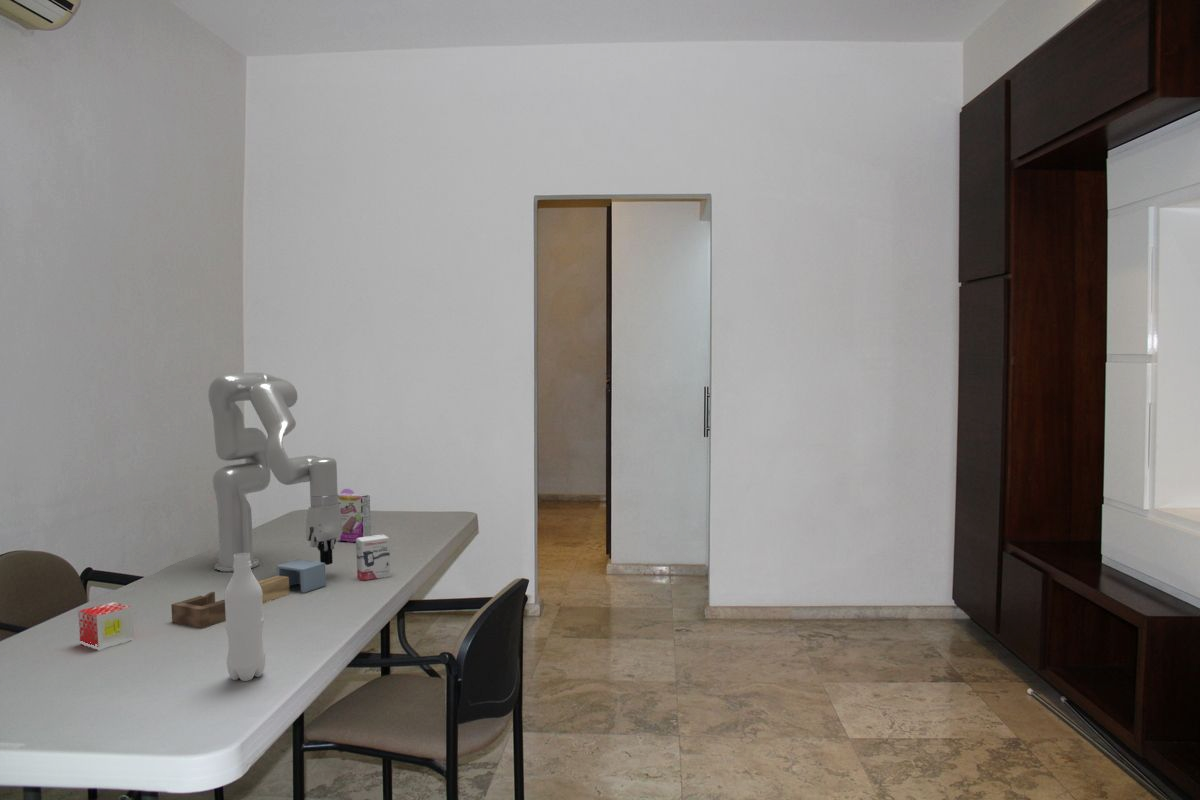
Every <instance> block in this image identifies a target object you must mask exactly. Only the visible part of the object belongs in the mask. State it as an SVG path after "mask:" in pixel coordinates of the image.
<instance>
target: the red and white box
mask: <svg viewBox="0 0 1200 800" xmlns="http://www.w3.org/2000/svg"><path fill="white" fill-rule="evenodd" d="M133 612H134V611H133V606H130V605H126V604H123V603H119V602H116V601H113V602H108V603H105V604H100V605H96V606H93V607H88V608H84V609H81V610H78V611H77V613H78V627H79V629H78V630H79V631H78V632H79V642H80V641H83V642H85V643H88V644H90V645H91V644H92V645H94V646H95V644H97V645H98V646H97V647H100V646H101V645H107V644H110V643H114V642H117V641H122V640H125V639H129V638H134V639H135V632H134V613H133ZM90 642H91V643H90Z"/></svg>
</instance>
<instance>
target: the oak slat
mask: <svg viewBox="0 0 1200 800" xmlns="http://www.w3.org/2000/svg"><path fill="white" fill-rule="evenodd" d="M258 583H259V584H260V586H261V589H262V593H263V595H262V603H263V604H265V603H268V602H271V601H273V599H274V600H277V599H279V597H280V598H282V596H283V597H285V596H288V595H290V593H291V592H290V586H289V577H286V576H273V577H272V576H271V577H268V578H266V579H265V578H264V579H262V580H259V581H258ZM287 594H288V595H287ZM284 595H285V596H284ZM276 598H277V599H276ZM270 600H271V601H270ZM267 601H268V602H267Z"/></svg>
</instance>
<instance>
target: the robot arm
mask: <svg viewBox="0 0 1200 800" xmlns="http://www.w3.org/2000/svg"><path fill="white" fill-rule="evenodd" d="M241 401H242V402H243V401H250V403H251V404H252V407H253V409H254V411H255V412H256V414H257V416H258V418H259V420H260V421H261V424H262V425H263V427H264V429H265V431H266V434H267V436H266V435H265V433H264V432H263V430H261V429H259V428H257V427H245V422H244V420H245V419H244V415H243V412H242V410H241V408H240V406H239V405H238V404H237V403H236V402H241ZM297 401H298V392H297V389H296V387H295V386H294V385H293V384H292V383H291V382H290V381H288V380H287V379H286V380H285V379H283V378H281V377H277V376H273V375H271V374H268V373H264V372H237V373H236V372H235V373H234V372H233V373H226V374H222V375H218V376H216V377H215V378H214V379H213V380H212V382H211V383H210V385H209V388H208V402H209V406H210V409H211V414H212V418H213V433H214V443H215V451H216V455H217V457H218V458H219V459H220V460H222V461H225V462H230V461H238V460H245V462H244V463H237V464H231V465H226V466H223V467H220V468H219V469H218V470H217V471H215V473H214V475H213V477H212V487H213V489H214V495H215V499H216V505H217V506H216V507H217V508H216V509H217V523H218V524H217V525H218V545H219V546H218V547H219V550H218V552H217V553H215V554H213V558H214V559H217V561H218V562H217V563H216V564H215V565H214V570H215V569H217V570H220V571H219V572H234V568H233V565H234V564H233V563H234V555H235V554H239V553H249V554H250V561H251V562H250V563H251V564H252V566H251V569H253V568H256V567H258V566H259V565H260V561H259V559H257V558H254V545H253V544H254V538H253V515H252V506H251V504H250V503H249V501H248V499H247V497H246V496H245V495H247V494H252V493H257V492H261V491H264V490H265V489H267V487H268V486H269V485H270V482H271V475H272V474H273V476H274V478H276V480H277V481H278V482H279V483H280V484H282V485H285V486H291V485H297V484H302V483H308V482H309V493H310V494H309V497H310V506H308V509H307V515H306V528H305V529H306V530H305V532H306V533H305V534H306V536H305V537H306V540H307V541H308V542H309V543H310V547H313V548H317V550H318V551H319V562H322V563H325V566H328V565H329V566H330V565H331V564H333V550H334V548H335V545H336V543H338V542H339V540H340V539H341V537H340V536H341V535H342V518H341V511H340V506H339V504H338V498H339V494H338V469H337V467H338V466H337V465H338V464H337V461H336V459H335V458H333V457H320V456H317V455H305V456H298V457H297V456H296V457H290V458H289V456H288V454H287V453H286V451H285V448H284V445H283V438H284V437H285V436H286V435H288V434H289V433H291V432H292V431H293V430H294V429H295V428H296V424H297V423H296V420H295V417H294V416H293V414H292V412H291V410H290V408H292V407H293V406H294V405H296V404H297ZM271 472H272V474H271ZM217 570H216V571H217Z"/></svg>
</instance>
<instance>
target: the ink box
mask: <svg viewBox="0 0 1200 800" xmlns="http://www.w3.org/2000/svg"><path fill="white" fill-rule="evenodd" d="M355 544H356V546H355V547H356V549H355V550H356V551H355V552H356V570H357V571H356V574H357V579H359V580H360V581H362V582H365V581H364V580H366V581H370V579H372V580H377V578H378V579H383V577H384V578H389V577H391V558H390V557H391V553H390V552H391V550H390V549H391V548H390V547H391V546H390V537H388V536H387V535H386V534H375V535H371V536H367V537H360V538H357V539H356V543H355Z"/></svg>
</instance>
